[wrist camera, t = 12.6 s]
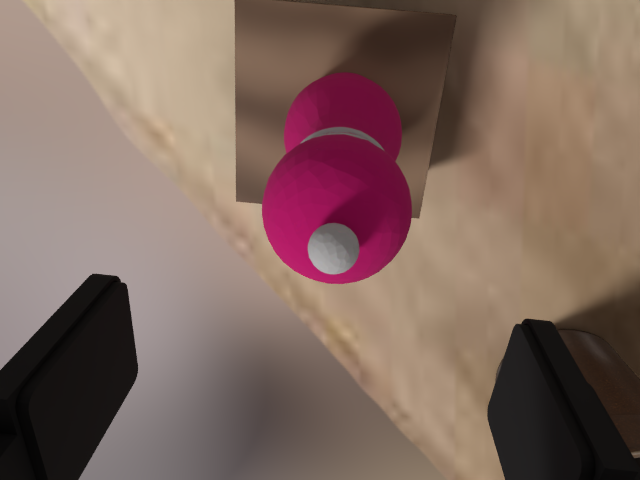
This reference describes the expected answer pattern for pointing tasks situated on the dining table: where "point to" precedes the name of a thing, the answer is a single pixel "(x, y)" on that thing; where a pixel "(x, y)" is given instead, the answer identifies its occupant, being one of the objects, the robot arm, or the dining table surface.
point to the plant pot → (608, 383)
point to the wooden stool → (328, 58)
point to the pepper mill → (339, 182)
